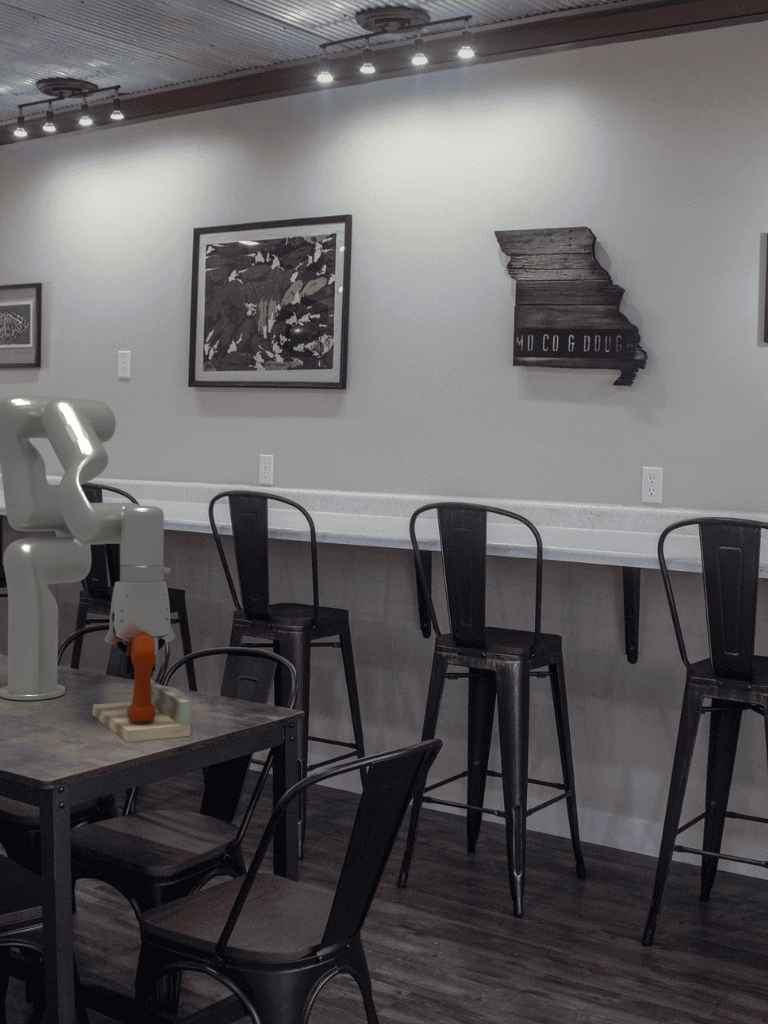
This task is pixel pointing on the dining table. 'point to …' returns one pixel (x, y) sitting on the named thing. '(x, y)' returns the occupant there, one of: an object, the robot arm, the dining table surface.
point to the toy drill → (142, 677)
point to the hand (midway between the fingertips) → (139, 675)
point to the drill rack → (165, 724)
